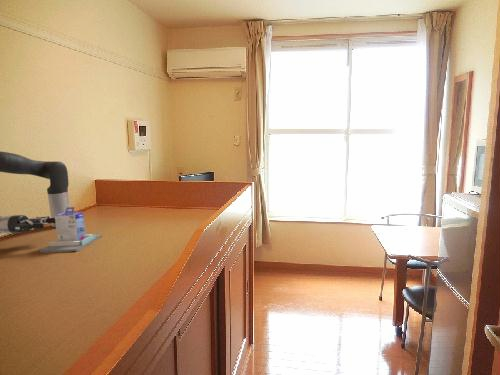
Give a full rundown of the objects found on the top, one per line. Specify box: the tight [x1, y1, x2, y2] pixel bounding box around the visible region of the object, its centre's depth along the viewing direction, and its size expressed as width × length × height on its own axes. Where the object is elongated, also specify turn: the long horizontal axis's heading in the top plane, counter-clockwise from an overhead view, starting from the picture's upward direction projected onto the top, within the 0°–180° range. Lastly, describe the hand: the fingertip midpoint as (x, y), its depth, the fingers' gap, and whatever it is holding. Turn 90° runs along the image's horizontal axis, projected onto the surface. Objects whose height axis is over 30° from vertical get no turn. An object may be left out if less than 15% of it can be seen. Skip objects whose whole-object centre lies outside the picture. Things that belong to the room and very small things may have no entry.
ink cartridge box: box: [55, 206, 87, 242], centre depth 146 cm, size 10×6×14 cm, turn 80°
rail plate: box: [39, 233, 103, 254], centre depth 147 cm, size 20×15×2 cm
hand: (49, 223), depth 146 cm, fingers open, 8 cm apart
